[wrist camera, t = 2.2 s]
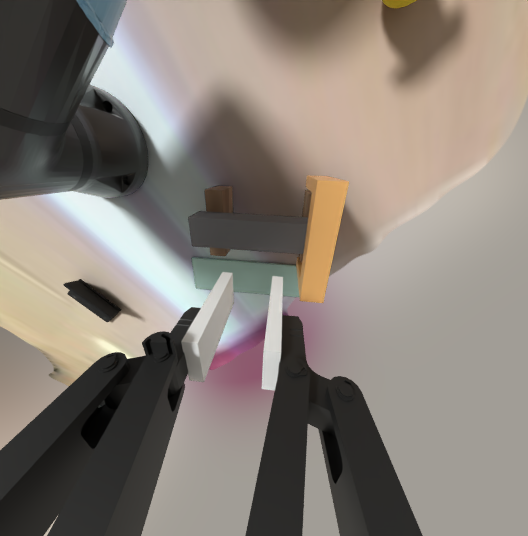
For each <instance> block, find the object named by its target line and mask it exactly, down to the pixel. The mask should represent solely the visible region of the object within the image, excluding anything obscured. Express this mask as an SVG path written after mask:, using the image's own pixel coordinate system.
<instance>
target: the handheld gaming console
mask: <svg viewBox="0 0 528 536" xmlns="http://www.w3.org/2000/svg"><path fill="white" fill-rule="evenodd" d="M64 286H65V287H66V288H68V289H69V290H70V291H69V292H68V295H69V296H71V297H72V298H74V299H75V300H76V301H78V302H79V303H81V304H82V305H83V306H85V307H86V308H88V309H89V310H90V311H92V312H93V313H94V314H96V315H97V316H99V317H100V318H102V319H103V320H104V321H106V322H109V321H110V320H111V319H112V318H113V317H114V316H115V315H116V314H117V313H119V311H121V309H120V308H118V307H117V306H115V305H114V304H113V303H111V302H109V300H107V299H106V298H105V297H104V296H102V295H101V294H100V293H98V292H97V291H96V290H94V289H92V287H90V286H89V285H88V284H86V283H85V282H84V281H83V280H81V279H79V280H78V281H73V282H68V283H65V284H64Z"/></svg>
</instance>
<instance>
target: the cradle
mask: <svg viewBox="0 0 528 536" xmlns="http://www.w3.org/2000/svg"><path fill="white" fill-rule="evenodd" d="M311 195H312V193H311V192H310V190H305V197H304V205H303V213H302V217H309V210H310V202H311ZM205 200H206V211H207V212H224V213H233V195H232V187H231V186H215V187H212V188H208V189H205ZM229 251H230V249H223V248H210V254H211V255H215V256H226V255H227V254H228V252H229ZM299 257H300V262H302V260H303V254H299Z"/></svg>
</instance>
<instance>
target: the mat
mask: <svg viewBox="0 0 528 536" xmlns="http://www.w3.org/2000/svg"><path fill="white" fill-rule="evenodd" d="M191 259H192V266H193V273H194V280H195V287H196V288H197V289H209V290H212V289H213V287H214V285H215V284H216V282H217V280H218V279H219V277H220V275H221V274H222V272H228V273H233V292H244V293H255V294H267V295H270V293H271V284H272V276H278V277H283V296H290V297H299V288H298V278H297V269H296V265H290V264H277V263H263V262H250V261H237V260H223V259H210V258H197V257H192V258H191Z"/></svg>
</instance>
